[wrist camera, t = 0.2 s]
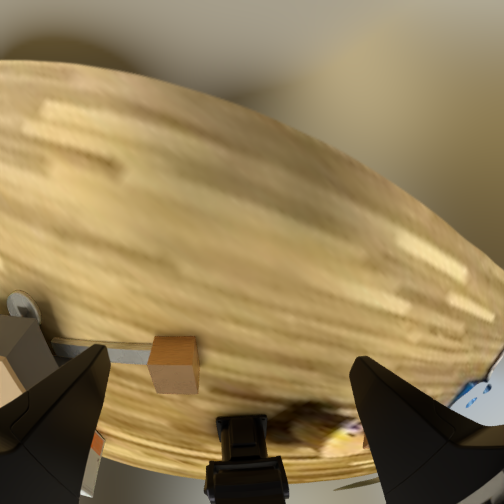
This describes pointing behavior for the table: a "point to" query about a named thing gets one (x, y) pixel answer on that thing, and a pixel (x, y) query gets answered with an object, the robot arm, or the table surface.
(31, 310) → the token
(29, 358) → the cabinet
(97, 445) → the skincare box
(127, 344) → the brown block with rod
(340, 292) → the table surface
